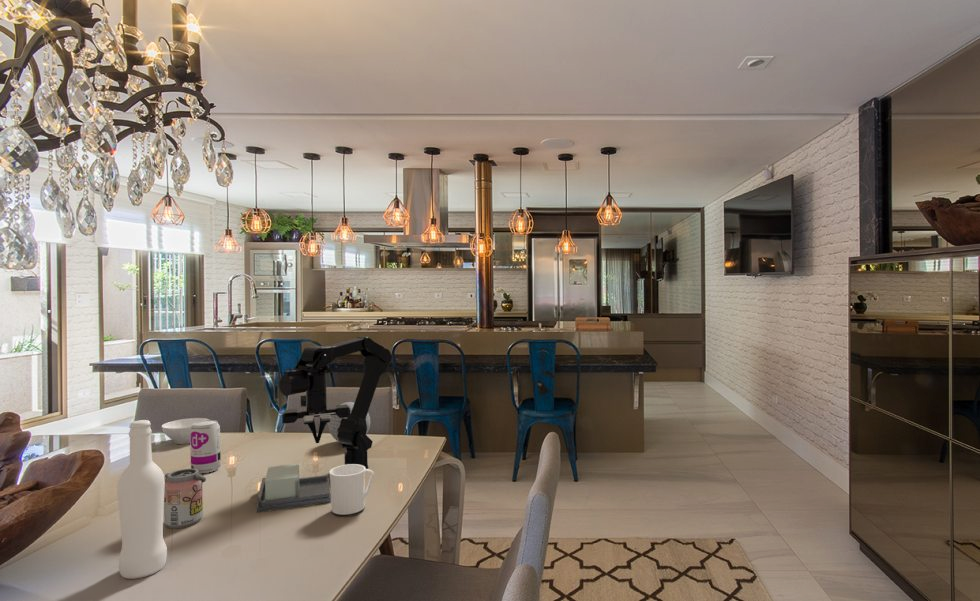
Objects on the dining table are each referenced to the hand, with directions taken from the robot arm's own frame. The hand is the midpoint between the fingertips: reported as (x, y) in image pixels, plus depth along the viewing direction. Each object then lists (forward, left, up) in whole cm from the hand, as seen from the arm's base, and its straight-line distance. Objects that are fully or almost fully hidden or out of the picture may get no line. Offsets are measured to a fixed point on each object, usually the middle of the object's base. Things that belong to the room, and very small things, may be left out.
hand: (317, 442), depth 153 cm
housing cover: (+9, +9, -10) cm, 16 cm away
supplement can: (+33, -24, -12) cm, 42 cm away
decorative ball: (-12, -38, -12) cm, 41 cm away
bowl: (+46, -64, -12) cm, 80 cm away
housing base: (+6, +9, -11) cm, 16 cm away
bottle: (+34, +39, -12) cm, 53 cm away
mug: (-8, +24, -12) cm, 28 cm away
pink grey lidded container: (+31, +16, -12) cm, 37 cm away
